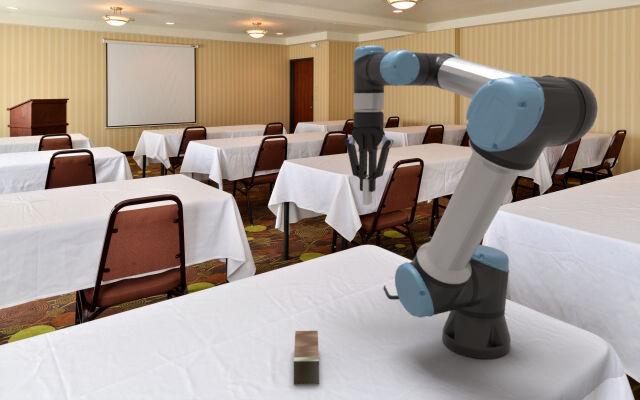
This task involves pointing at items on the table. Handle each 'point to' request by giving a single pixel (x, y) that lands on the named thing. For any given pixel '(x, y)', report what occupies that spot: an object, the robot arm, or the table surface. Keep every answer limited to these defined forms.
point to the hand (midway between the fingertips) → (367, 203)
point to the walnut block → (306, 357)
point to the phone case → (391, 291)
